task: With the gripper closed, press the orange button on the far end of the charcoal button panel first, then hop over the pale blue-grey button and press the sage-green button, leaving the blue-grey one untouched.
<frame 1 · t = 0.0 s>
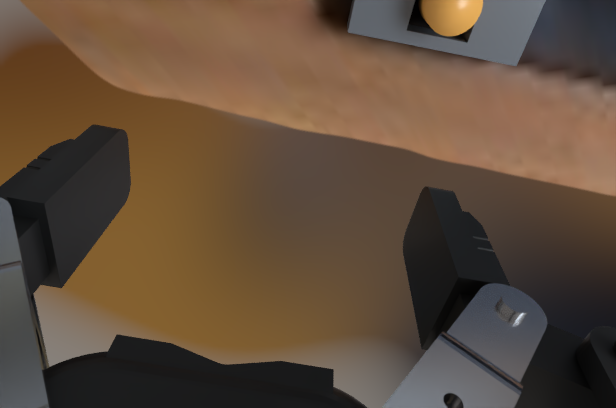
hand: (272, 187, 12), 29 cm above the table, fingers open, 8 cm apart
orange button: (448, 3, 32), point 3 cm above the table, slide at 0.0 cm
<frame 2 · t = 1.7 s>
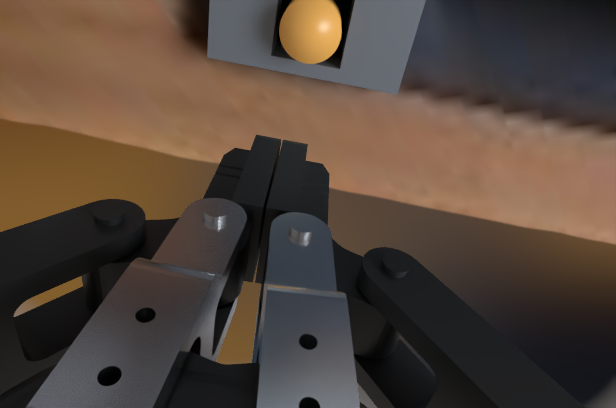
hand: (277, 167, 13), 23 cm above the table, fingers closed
orange button: (311, 26, 29), point 3 cm above the table, slide at 0.0 cm
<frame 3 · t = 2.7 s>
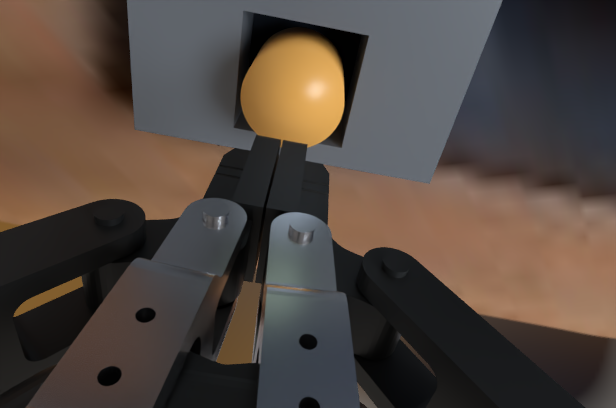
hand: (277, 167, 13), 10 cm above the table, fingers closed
orange button: (296, 87, 18), point 3 cm above the table, slide at 0.0 cm
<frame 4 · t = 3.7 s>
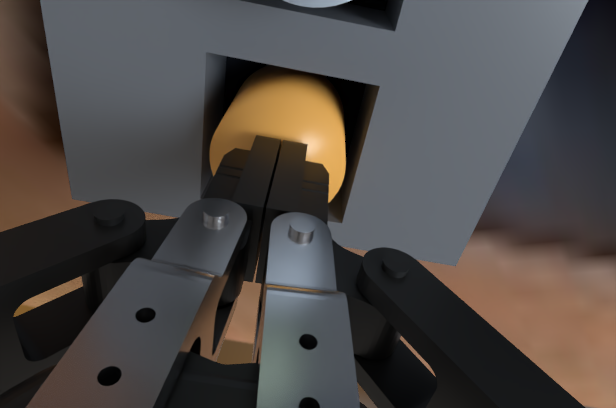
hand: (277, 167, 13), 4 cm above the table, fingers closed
orange button: (283, 139, 14), point 2 cm above the table, slide at 0.8 cm, touching gripper
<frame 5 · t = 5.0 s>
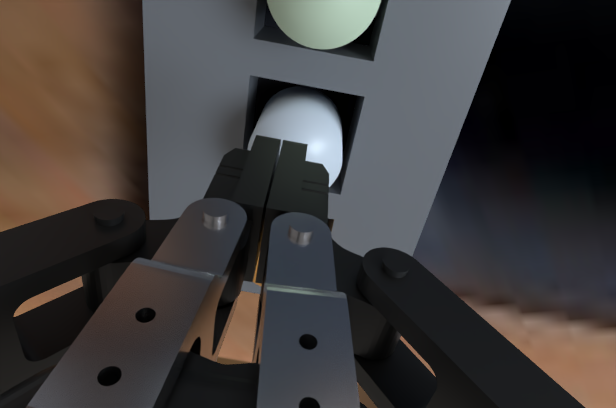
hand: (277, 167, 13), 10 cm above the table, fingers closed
blue-grey button: (298, 141, 19), point 3 cm above the table, slide at 0.0 cm
orange button: (281, 241, 24), point 2 cm above the table, slide at 0.9 cm
button panel: (303, 116, 22), on the table
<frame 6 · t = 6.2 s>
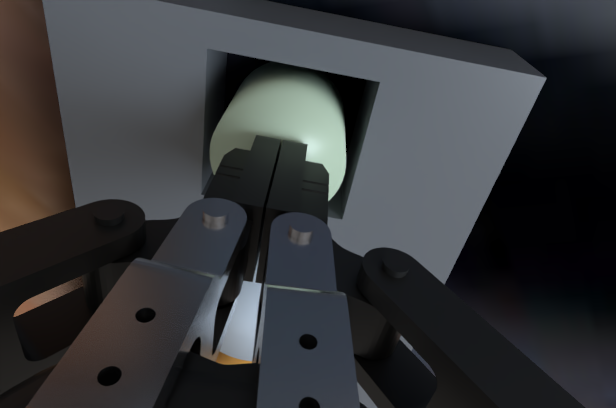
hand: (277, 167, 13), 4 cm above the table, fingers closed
blue-grey button: (258, 292, 17), point 3 cm above the table, slide at 0.0 cm
orange button: (247, 369, 21), point 2 cm above the table, slide at 0.9 cm
button panel: (269, 240, 20), on the table
sage button: (283, 137, 14), point 3 cm above the table, slide at 0.7 cm, touching gripper
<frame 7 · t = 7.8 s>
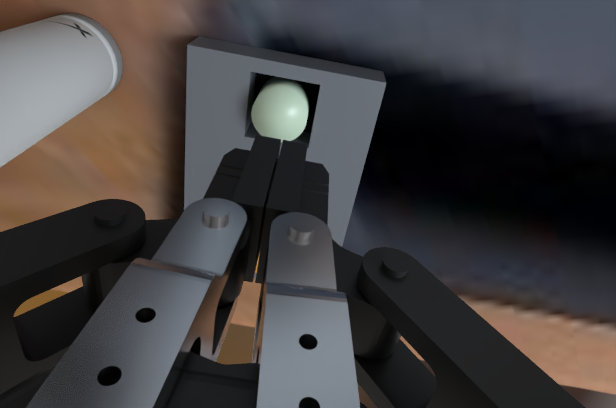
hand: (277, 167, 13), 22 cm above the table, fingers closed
travel mug: (83, 53, 33), on the table
orange button: (262, 244, 39), point 2 cm above the table, slide at 0.9 cm
button panel: (274, 169, 38), on the table
sage button: (281, 108, 32), point 2 cm above the table, slide at 0.9 cm
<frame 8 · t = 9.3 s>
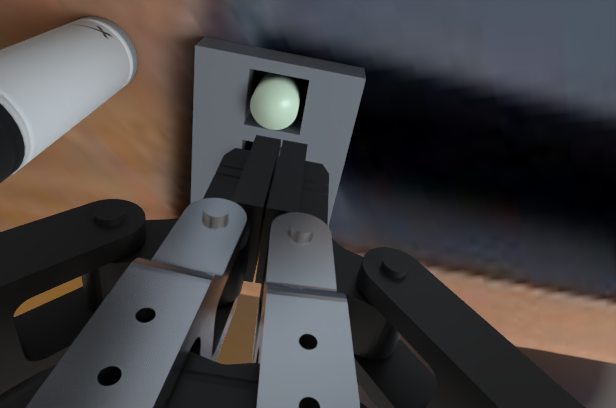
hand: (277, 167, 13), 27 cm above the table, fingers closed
blue-grey button: (266, 169, 40), point 3 cm above the table, slide at 0.0 cm
travel mug: (103, 51, 38), on the table
button panel: (270, 153, 43), on the table
sage button: (276, 100, 37), point 2 cm above the table, slide at 0.9 cm
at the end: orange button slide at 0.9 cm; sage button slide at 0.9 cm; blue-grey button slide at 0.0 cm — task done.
